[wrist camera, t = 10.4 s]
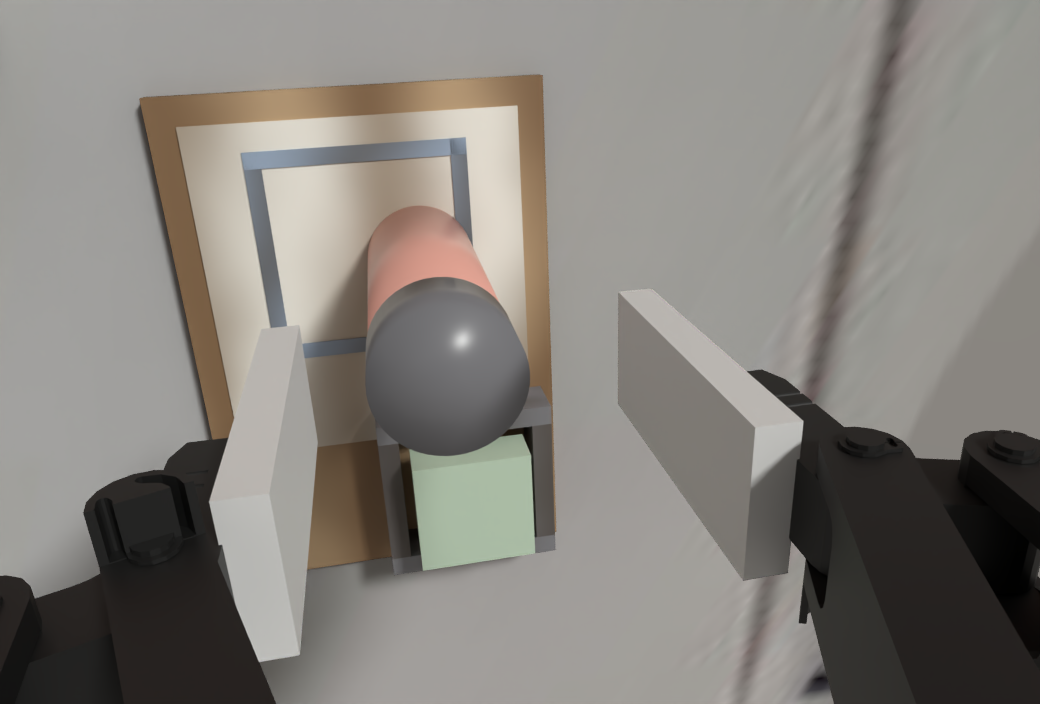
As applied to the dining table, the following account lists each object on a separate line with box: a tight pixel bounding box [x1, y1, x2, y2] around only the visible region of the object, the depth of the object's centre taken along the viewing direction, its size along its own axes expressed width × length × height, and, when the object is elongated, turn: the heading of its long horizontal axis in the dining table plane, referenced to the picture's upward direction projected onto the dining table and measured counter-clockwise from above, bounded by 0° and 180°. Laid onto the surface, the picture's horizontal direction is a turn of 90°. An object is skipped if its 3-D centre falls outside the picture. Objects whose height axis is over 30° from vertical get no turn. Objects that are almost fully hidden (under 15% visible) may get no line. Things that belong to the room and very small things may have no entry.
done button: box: [409, 434, 535, 571], centre depth 32 cm, size 5×5×2 cm
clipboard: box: [139, 75, 556, 575], centre depth 31 cm, size 14×20×3 cm
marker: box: [365, 206, 530, 456], centre depth 25 cm, size 4×4×12 cm
